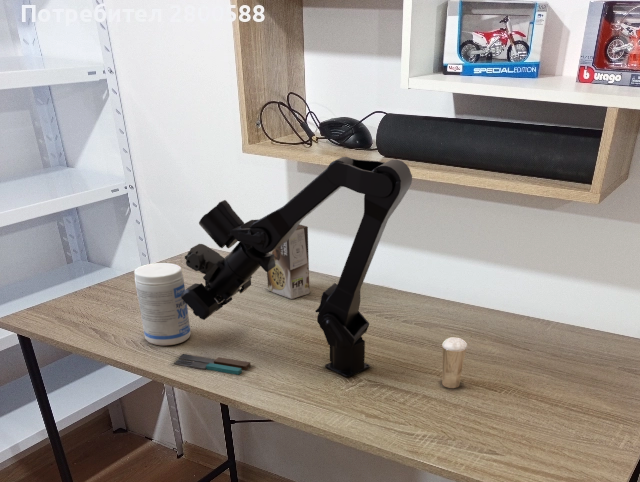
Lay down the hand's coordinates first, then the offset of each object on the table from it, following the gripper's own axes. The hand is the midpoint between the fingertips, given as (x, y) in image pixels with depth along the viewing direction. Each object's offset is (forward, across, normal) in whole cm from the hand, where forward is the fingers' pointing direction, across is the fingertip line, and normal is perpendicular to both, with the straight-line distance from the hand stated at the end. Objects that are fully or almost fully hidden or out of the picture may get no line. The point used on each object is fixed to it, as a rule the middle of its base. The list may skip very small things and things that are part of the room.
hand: (195, 313), depth 140 cm
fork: (-1, +10, +10) cm, 14 cm away
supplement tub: (+10, 0, -1) cm, 10 cm away
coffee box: (+1, -34, +8) cm, 36 cm away
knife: (-1, +7, +10) cm, 12 cm away
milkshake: (-33, 0, +43) cm, 55 cm away
